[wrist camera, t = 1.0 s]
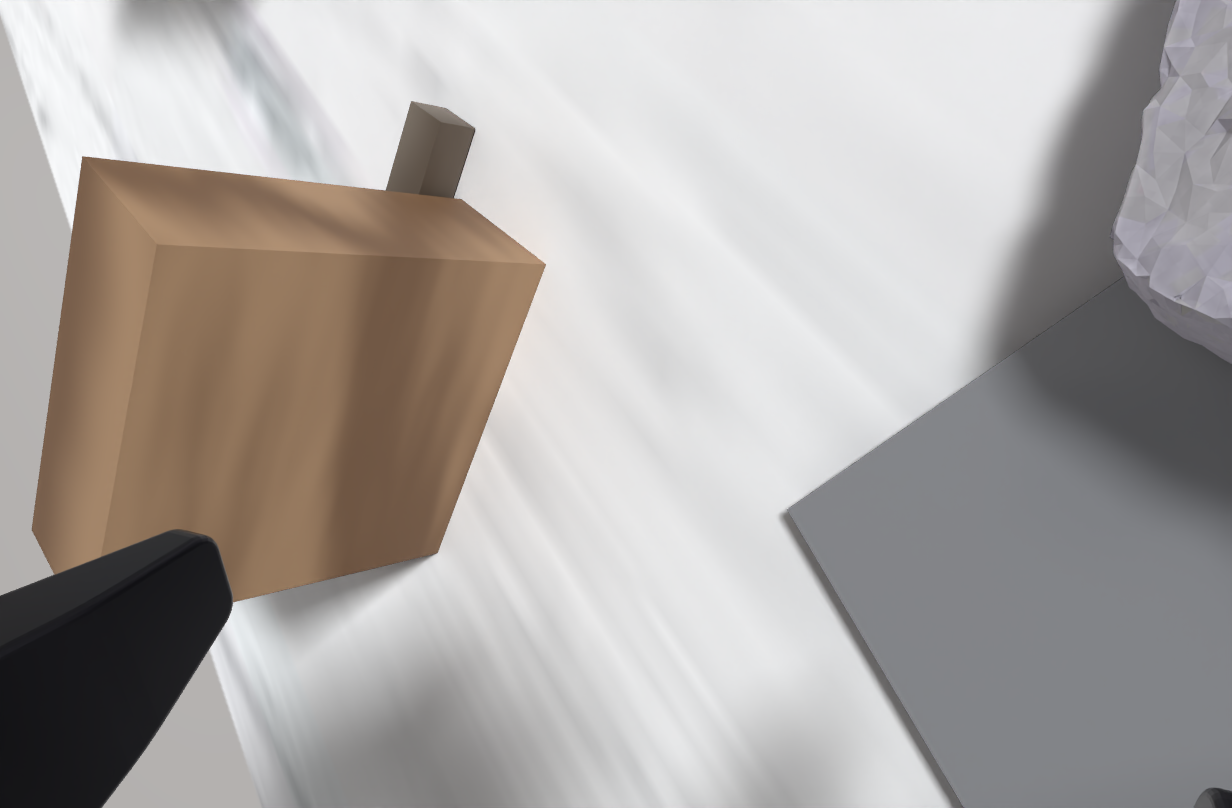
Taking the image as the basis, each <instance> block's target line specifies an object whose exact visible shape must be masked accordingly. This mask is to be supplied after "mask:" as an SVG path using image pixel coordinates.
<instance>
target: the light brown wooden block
mask: <svg viewBox="0 0 1232 808" xmlns="http://www.w3.org/2000/svg"><path fill="white" fill-rule="evenodd" d="M545 266H546V264H545V263H544V262H542V261H541V260H540V259H538V258H537V257H536V256H534V255H533V254H532V253H531V252H529V251H528V250H527V249H525V248H524V247H523V246H521V245H520V244H519V243H518V242H516V241H515V240H514V239H512V238H511V237H510V236H508V235H507V234H506V233H505V232H503V231H502V230H501V229H499V228H498V227H497V226H495V225H494V224H493V223H492V222H490V221H489V220H488V219H486V218H485V217H484V216H482V215H481V214H480V213H479V212H477V211H476V210H475V209H473V208H472V207H471V206H469V205H468V204H467V203H466V202H464V201H463V200H462V199H454V198H446V197H437V196H428V195H419V194H410V193H401V192H393V191H384V190H375V189H366V188H357V187H348V186H340V185H331V184H322V183H313V182H304V181H295V180H287V179H278V178H269V177H260V176H251V175H242V174H234V173H225V172H216V171H207V170H198V169H189V168H181V167H172V166H163V165H154V164H145V163H136V162H128V161H119V160H110V159H101V158H92V157H83V156H82V163H81V171H80V178H79V185H78V193H77V200H76V208H75V215H74V222H73V230H72V237H71V244H70V253H69V259H68V266H67V274H66V281H65V288H64V296H63V303H62V310H61V318H60V325H59V332H58V341H57V348H56V354H55V362H54V370H53V377H52V384H51V391H50V399H49V407H48V413H47V421H46V429H45V436H44V443H43V450H42V457H41V465H40V472H39V479H38V487H37V494H36V501H35V510H34V516H33V524H32V531H33V533H34V535H35V537H36V539H37V541H38V543H39V545H40V547H41V549H42V551H43V553H44V555H45V557H46V559H47V561H48V563H49V564H50V567H51V569H52V570H53V573H54V575H55V574H58V573H60V572H63V571H65V570H68V569H71V568H73V567H76V566H78V565H81V564H84V563H86V562H89V561H91V560H94V559H96V558H99V557H102V556H104V555H107V554H109V553H112V552H115V551H117V550H120V549H122V548H125V547H128V546H130V545H133V544H135V543H138V542H140V541H143V540H146V539H148V538H151V537H153V536H156V535H159V534H161V533H164V532H166V531H169V530H174V529H183V530H187V531H191V532H195V533H199V534H203V535H207V536H209V537H211V538H212V539H213V540H214V541H215V542H216V543H217V545H218V547H219V550H220V553H221V557H222V560H223V563H224V567H225V570H226V573H227V576H228V580H229V583H230V586H231V590H232V593H233V602H236V601H240V600H245V599H249V598H253V597H257V596H261V595H265V594H270V593H274V592H278V591H282V590H286V589H290V588H295V587H299V586H303V585H307V584H311V583H315V582H319V581H324V580H328V579H332V578H336V577H340V576H344V575H349V574H353V573H357V572H361V571H365V570H369V569H374V568H378V567H382V566H386V565H390V564H394V563H398V562H403V561H407V560H411V559H415V558H419V557H423V556H428V555H432V554H436V553H438V550H439V548H440V545H441V542H442V540H443V537H444V534H445V532H446V529H447V526H448V524H449V521H450V518H451V516H452V513H453V510H454V508H455V505H456V502H457V500H458V497H459V494H460V492H461V489H462V486H463V484H464V481H465V478H466V476H467V473H468V470H469V468H470V465H471V462H472V460H473V457H474V454H475V452H476V449H477V447H478V444H479V441H480V439H481V436H482V433H483V431H484V428H485V425H486V423H487V420H488V417H489V415H490V412H491V409H492V407H493V404H494V401H495V399H496V396H497V393H498V391H499V388H500V385H501V383H502V380H503V377H504V375H505V372H506V369H507V367H508V364H509V361H510V359H511V356H512V353H513V351H514V348H515V345H516V343H517V340H518V337H519V335H520V332H521V329H522V327H523V324H524V322H525V319H526V316H527V314H528V311H529V308H530V306H531V303H532V300H533V298H534V295H535V292H536V290H537V287H538V284H539V282H540V279H541V276H542V274H543V271H544V268H545Z"/></svg>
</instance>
